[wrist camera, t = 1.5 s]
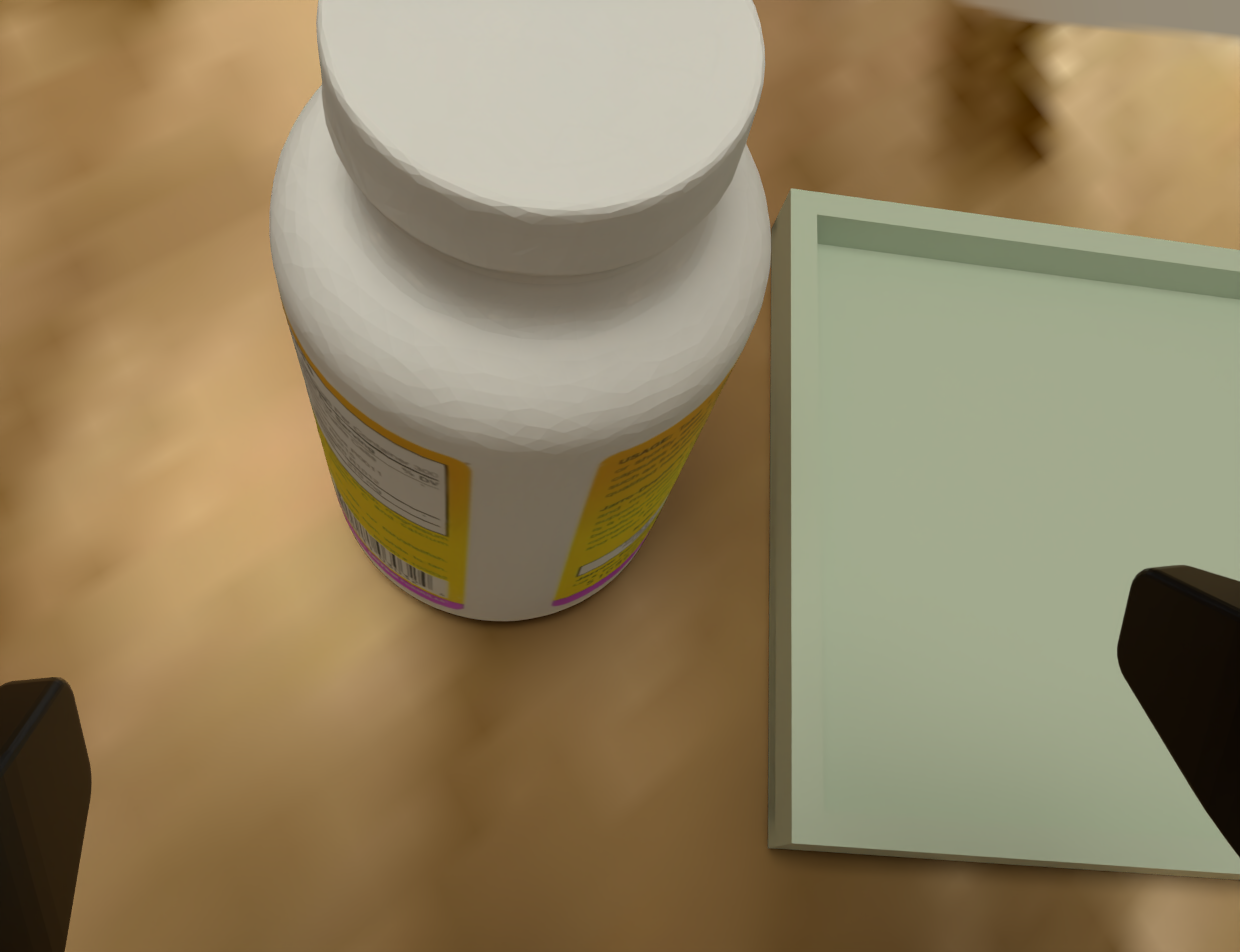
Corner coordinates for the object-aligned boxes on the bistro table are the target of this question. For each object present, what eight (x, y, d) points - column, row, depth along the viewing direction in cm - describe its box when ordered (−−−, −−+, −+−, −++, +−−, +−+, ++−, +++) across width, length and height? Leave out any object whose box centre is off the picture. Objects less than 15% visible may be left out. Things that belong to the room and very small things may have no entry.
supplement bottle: (655, 344, 25) (845, -168, 13) (658, 635, 23) (894, 331, 11) (350, 322, 24) (257, -248, 12) (318, 623, 22) (166, 276, 10)
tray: (1312, 300, 28) (1360, 266, 27) (1430, 893, 23) (1498, 892, 21) (771, 228, 27) (790, 188, 25) (767, 847, 21) (792, 843, 20)
